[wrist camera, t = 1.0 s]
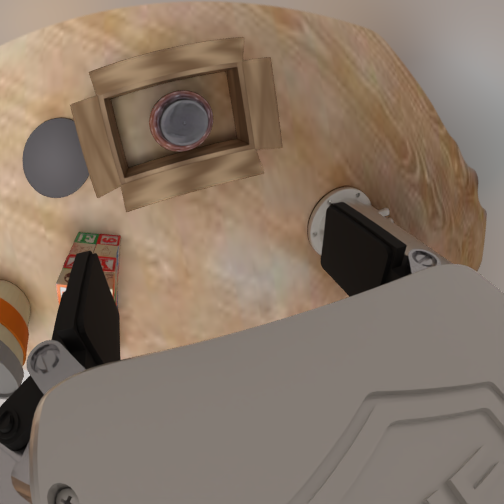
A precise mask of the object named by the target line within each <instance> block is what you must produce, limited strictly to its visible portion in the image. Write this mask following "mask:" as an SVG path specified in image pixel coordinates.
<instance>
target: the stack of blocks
mask: <svg viewBox="0 0 504 504" xmlns="http://www.w3.org/2000/svg"><path fill="white" fill-rule="evenodd" d="M120 242H121V236H117V235H106V234H91V233H81V232H79V233H78V235H77V237H76V239H75V241H74V244H73V246H72V248H71V250H70V253H69V255H68V256H67V258H66V261H65V263H64V265H63V269H62V271H61V273H60V275H59V278H58V280H57V283H56V289H57V296H58V302H59V305H60V301H61V297H62V294H63V292H65V291H66V287H67V284H68V280H69V276H70V273H71V269H72V266H73V263H74V260H75V256H76V254H77V253H81V252H85V251H91V252H92V253H93V254H94V253H97V255H98V258H99V261H100V263H101V266H102V269H103V272H104V275H105V277H106V280H107V283H108V286H109V288H110V291H111V293H112V296H113V298H114V301H115V303H116V306H117V308H118V271H119V255H120Z"/></svg>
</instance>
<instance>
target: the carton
mask: <svg viewBox="0 0 504 504" xmlns="http://www.w3.org/2000/svg"><path fill="white" fill-rule="evenodd" d="M243 48H244V37H238V38H228V39H220V40H212V41H205V42H199V43H193V44H188V45H182V46H177V47H172V48H168V49H163V50H159V51H155V52H151V53H147V54H143V55H140V56H136V57H133V58H129V59H126V60H123V61H119V62H116V63H113V64H110V65H107V66H104V67H102V68H99V69H96V70H93V71H91V72H89V75H90V78H91V81H92V84H93V87H94V90H95V92H96V95H97V96H94V97H91V98H88V99H85V100H82V101H79V102H76V103H73V104H71V105H70V106H71V110H72V114H73V119H74V123H75V127H76V131H77V134H78V138H79V142H80V145H81V149H82V152H83V156H84V159H85V162H86V166H87V169H88V172H89V175H90V178H91V181H92V184H93V187H94V190H95V193H96V196H97V198H99V197H101V196H103V195H105V194H107V193H109V192H110V191H112V190H114V189H116V188H118V187H120V186H121V190H122V195H123V200H124V204H125V209H126V212H129V211H132V210H135V209H138V208H141V207H144V206H147V205H150V204H153V203H157V202H160V201H163V200H166V199H170V198H173V197H177V196H180V195H183V194H187V193H190V192H194V191H197V190H201V189H205V188H208V187H212V186H216V185H220V184H223V183H227V182H231V181H235V180H239V179H243V178H247V177H251V176H256V175H260V174H264V170H263V168H262V165H261V162H260V159H259V156H258V153H257V150H256V149H269V148H282V139H281V131H280V122H279V114H278V107H277V99H276V92H275V84H274V77H273V71H272V64H271V57H266V58H258V59H251V60H245V61H243ZM223 71H226V73H227V79H228V85H229V91H230V97H231V103H232V109H233V115H234V121H235V127H236V134H237V139H234V140H229V141H225V142H220V143H216V144H212V145H208V146H203V147H199V148H195V149H191V150H188V151H184V152H180V153H177V154H173V155H169V156H166V157H162V158H159V159H156V160H152V161H149V162H146V163H143V164H139V165H136V166H133V167H130V168H128V166H127V162H126V159H125V155H124V151H123V148H122V144H121V140H120V136H119V132H118V128H117V124H116V120H115V116H114V112H113V107H112V103H111V99H113V98H116V97H119V96H122V95H125V94H128V93H131V92H135V91H138V90H141V89H145V88H148V87H152V86H156V85H160V84H164V83H168V82H172V81H176V80H180V79H185V78H190V77H195V76H200V75H205V74H211V73H217V72H223Z"/></svg>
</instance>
